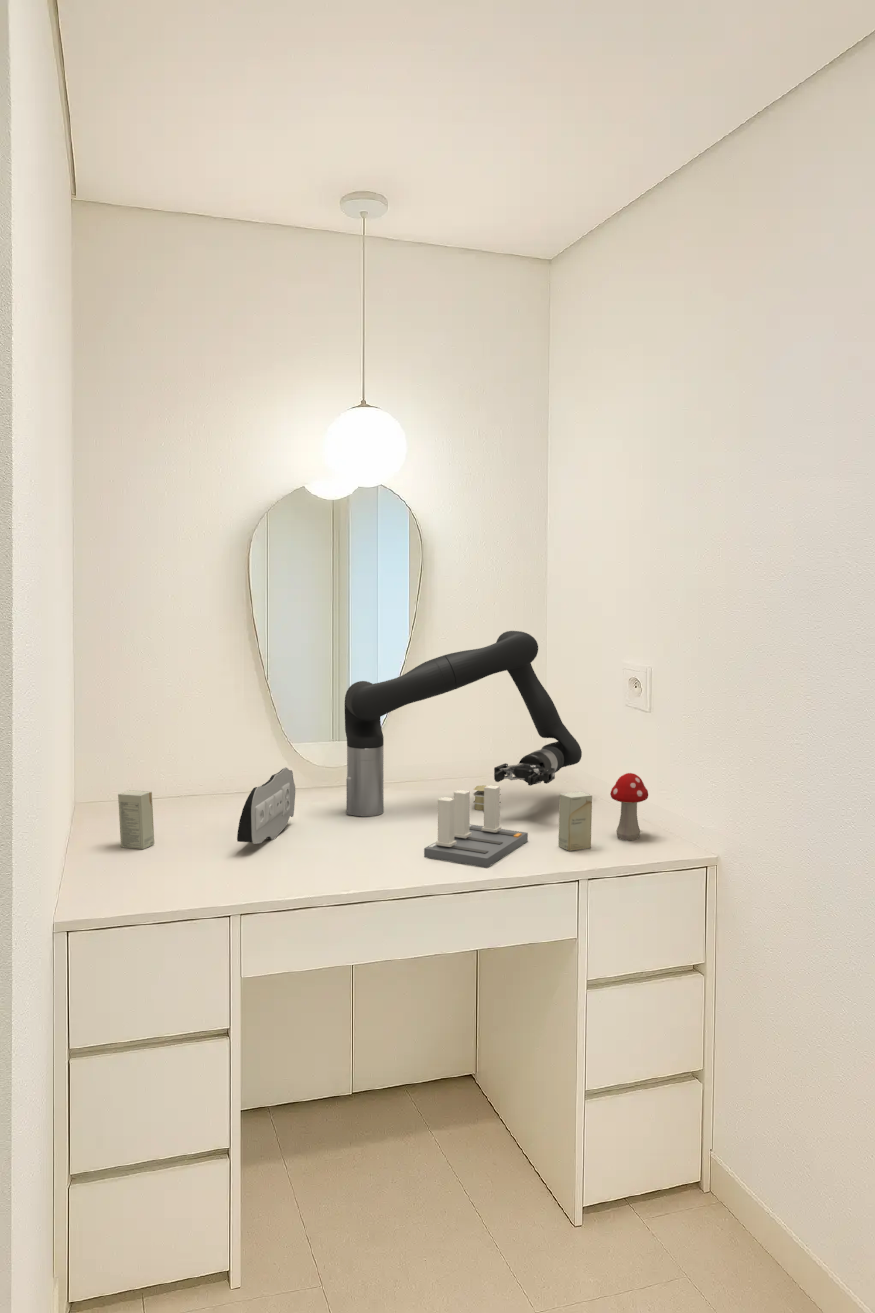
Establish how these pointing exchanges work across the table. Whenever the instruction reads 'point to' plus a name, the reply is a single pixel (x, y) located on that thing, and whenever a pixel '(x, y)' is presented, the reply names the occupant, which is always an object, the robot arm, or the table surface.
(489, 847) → the board
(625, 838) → the decorative mushroom
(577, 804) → the skincare box
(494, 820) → the post
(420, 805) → the table surface
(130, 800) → the skincare box
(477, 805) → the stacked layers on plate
